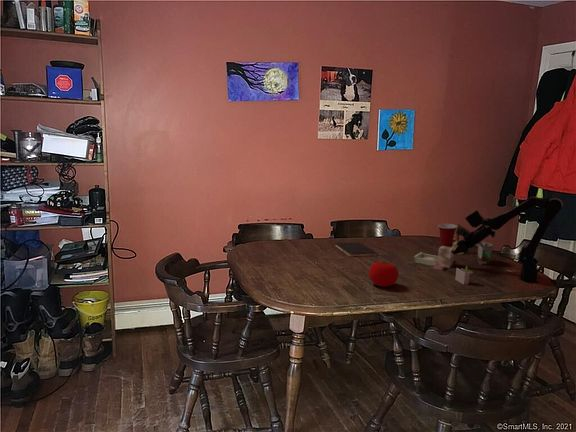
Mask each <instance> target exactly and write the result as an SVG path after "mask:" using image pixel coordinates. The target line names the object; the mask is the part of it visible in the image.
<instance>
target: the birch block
mask: <svg viewBox="0 0 576 432" xmlns="http://www.w3.org/2000/svg"><path fill="white" fill-rule="evenodd" d="M453 251H454V248H452V246H445V245H441V246H440V247H439V248H438V253H437V256H438V259H437V258H431V257H426V256H425V257H424V259H429V260H435V261H436V263H437V266H443V265H445V268H451V267H452V266H453V264H454V261H453V258H454V255H455V254H453V253H452V252H453Z"/></svg>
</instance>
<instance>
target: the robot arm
mask: <svg viewBox="0 0 576 432" xmlns="http://www.w3.org/2000/svg"><path fill="white" fill-rule="evenodd" d="M563 205H564V204H563V200H561V199H560V198H558V197H554V198H547V197H546V198H545V197H537V196H531V197H529V198H528V199H527V200H525V201H523V202H522V203H519V204H518V205H517V206H515V207H513V208H511V209H510V210H508V211H507V212H504V213H501V214H498V215H496V216H493V217H491V218H485V217H483V215H481V214H480V212H479V210H478V209H476V210H475V211H473V212H472V213H471V214H469V215H467V216H466V217H464V219H465V220H466V222H468V224H469V225H470V227H471V228H476V229H475V230H473V231H470V230H469V229H467V228H466V227H463V226H462V225H460V227H459V228H458V229H457V231H455V234H456V233H457V234H459V236H460V237H463V238H462V239H459V242H457V245H458V247H457V248H456V249H455V250H454V251H453V252H452V253H453V254H454V255H459V254H458V253H463V252H464V254H466V253H468V252H469V251H470V250H471V249H472V248H474V247H475V246H476V245H478V243H479V242H481V241H482V242H483V241H484V240H486V238H488V237H489V236H491V238H495V237H496V233H497V230H500V229H501V228H502V227H503V226H504V225H506V224H507V223H508V222H509V221H510V220H511V219H513V218H515V217H517V216H519V215H520V214H522V213H525V212H526V211H528V210H529V209H531V208H532V207H537V208H539V209H544V213H543V216H542V219H541V221H540V223H539V224H538V227H537V229H536V230H535V232H534V234H533V235H532V238H531V239H530V241H529V243H528V244H527V245H525V244H523V245H522V247H521V250H520V251H519V252H518V254H517V255H518V261H519V262H520V263H521V264H522V266H521V269H520V276H519V277H517V279H519V280H521V281H523V282H526V283H529V284H531V283H540V280H539V279H538V275H539V268H538V265H539V263H540V261H538V260H537V259H536V257H535V256H536V253H537V250H538V247H539V245H540V243H541V241H542V239H543V237H544V235H545V233H546V231H547V229H548V228H549V227H550V224H551V222H552V221H553V219H555V217H556V215H558V213H559V212H560V211H561V210H562V208H563V207H564V206H563Z"/></svg>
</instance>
